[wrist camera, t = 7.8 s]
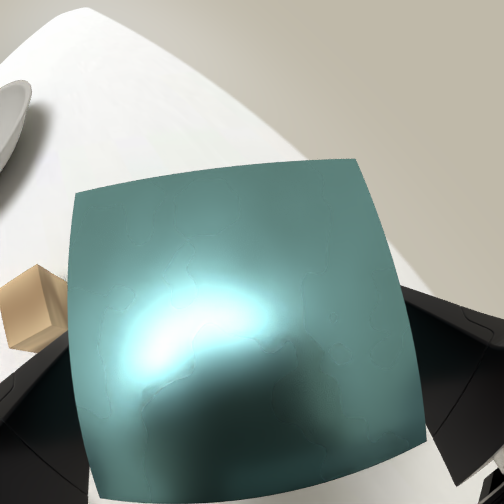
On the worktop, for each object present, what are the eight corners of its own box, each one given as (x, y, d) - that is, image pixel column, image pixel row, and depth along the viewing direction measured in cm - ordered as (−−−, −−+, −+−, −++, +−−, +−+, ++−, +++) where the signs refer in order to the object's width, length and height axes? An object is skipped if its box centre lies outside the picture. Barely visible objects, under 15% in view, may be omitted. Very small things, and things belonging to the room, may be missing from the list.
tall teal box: (301, 394, 15) (426, 440, 4) (188, 411, 15) (100, 498, 3) (280, 287, 18) (355, 158, 6) (172, 303, 17) (75, 193, 6)
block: (83, 333, 17) (51, 325, 13) (43, 353, 16) (9, 348, 12) (67, 282, 18) (37, 263, 14) (29, 303, 17) (-3, 289, 13)
